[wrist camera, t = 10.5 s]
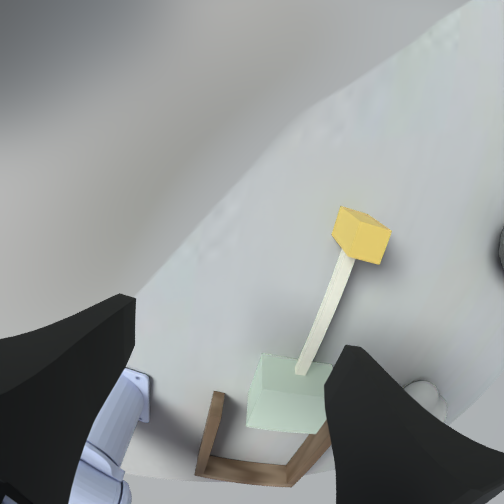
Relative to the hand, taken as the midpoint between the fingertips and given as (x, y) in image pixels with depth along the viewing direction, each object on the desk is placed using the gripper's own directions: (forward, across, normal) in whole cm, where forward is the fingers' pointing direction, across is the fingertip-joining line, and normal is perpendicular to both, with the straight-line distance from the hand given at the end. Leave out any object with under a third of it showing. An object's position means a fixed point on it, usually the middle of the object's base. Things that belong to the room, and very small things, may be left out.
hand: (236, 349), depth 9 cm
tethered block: (+10, -6, +5) cm, 13 cm away
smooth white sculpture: (+11, -21, +12) cm, 26 cm away
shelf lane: (+10, -6, +21) cm, 24 cm away
